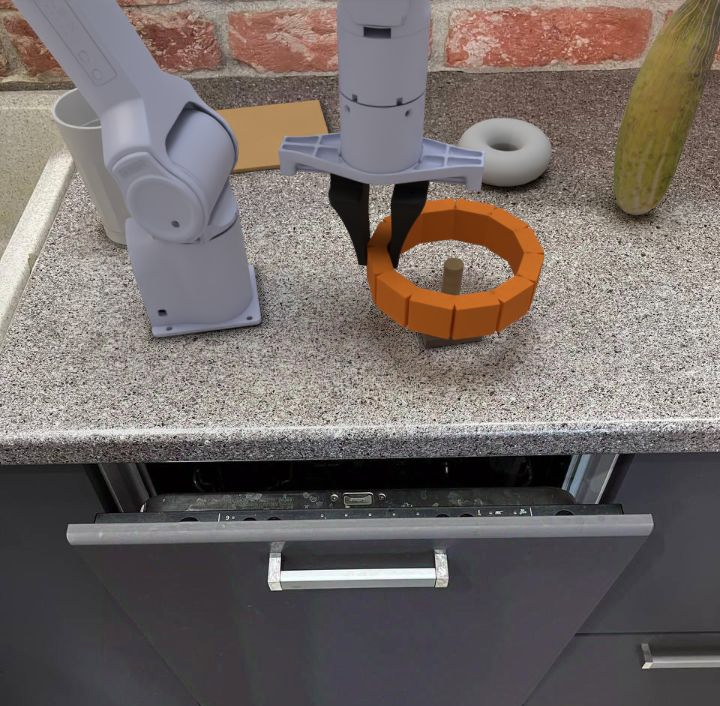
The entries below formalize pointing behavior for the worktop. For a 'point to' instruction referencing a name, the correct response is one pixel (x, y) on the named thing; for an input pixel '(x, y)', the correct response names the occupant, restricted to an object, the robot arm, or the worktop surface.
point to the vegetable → (664, 105)
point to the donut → (509, 150)
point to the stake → (451, 287)
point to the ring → (467, 310)
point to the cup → (91, 160)
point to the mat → (271, 130)
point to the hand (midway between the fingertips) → (379, 259)
